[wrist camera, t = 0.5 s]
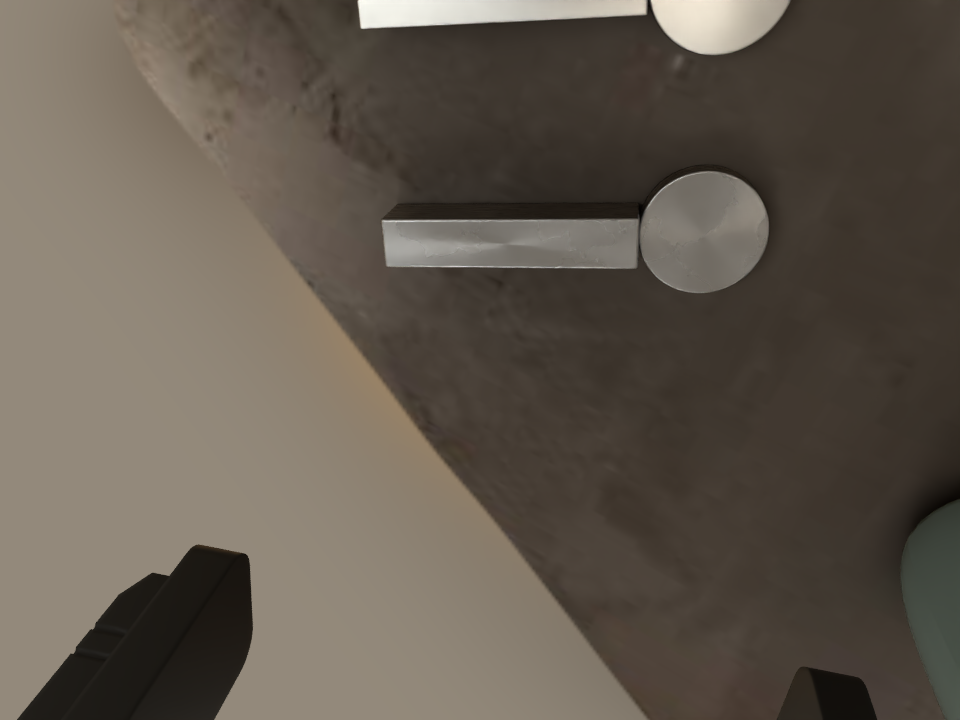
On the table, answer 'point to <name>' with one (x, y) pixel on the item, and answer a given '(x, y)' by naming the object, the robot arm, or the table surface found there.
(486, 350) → the table surface
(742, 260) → the spoon
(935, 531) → the cup
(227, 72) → the table surface
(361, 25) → the spoon
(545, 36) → the table surface
